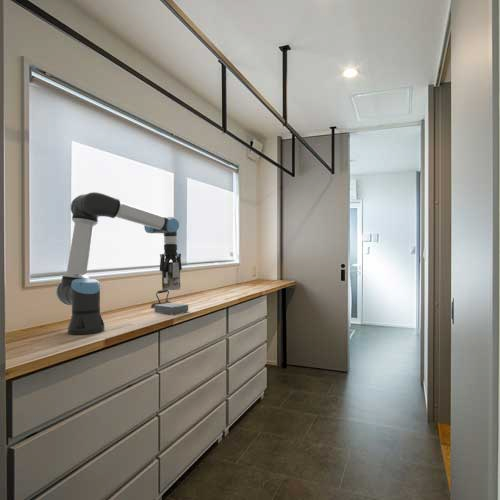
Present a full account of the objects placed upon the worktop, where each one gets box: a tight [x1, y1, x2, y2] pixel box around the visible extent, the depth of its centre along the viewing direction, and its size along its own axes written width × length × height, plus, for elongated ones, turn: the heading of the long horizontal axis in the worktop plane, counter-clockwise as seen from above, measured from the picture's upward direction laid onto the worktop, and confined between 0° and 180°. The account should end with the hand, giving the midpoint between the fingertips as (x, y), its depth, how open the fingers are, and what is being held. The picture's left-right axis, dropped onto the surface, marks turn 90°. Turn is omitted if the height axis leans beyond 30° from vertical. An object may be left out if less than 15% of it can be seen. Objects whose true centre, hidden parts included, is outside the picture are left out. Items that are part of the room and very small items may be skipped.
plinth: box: [154, 302, 189, 315], centre depth 216 cm, size 12×16×4 cm
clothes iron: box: [150, 289, 172, 309], centre depth 237 cm, size 14×10×11 cm
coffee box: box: [161, 261, 181, 291], centre depth 216 cm, size 9×6×16 cm
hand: (171, 282), depth 216 cm, fingers closed on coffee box, 7 cm apart
